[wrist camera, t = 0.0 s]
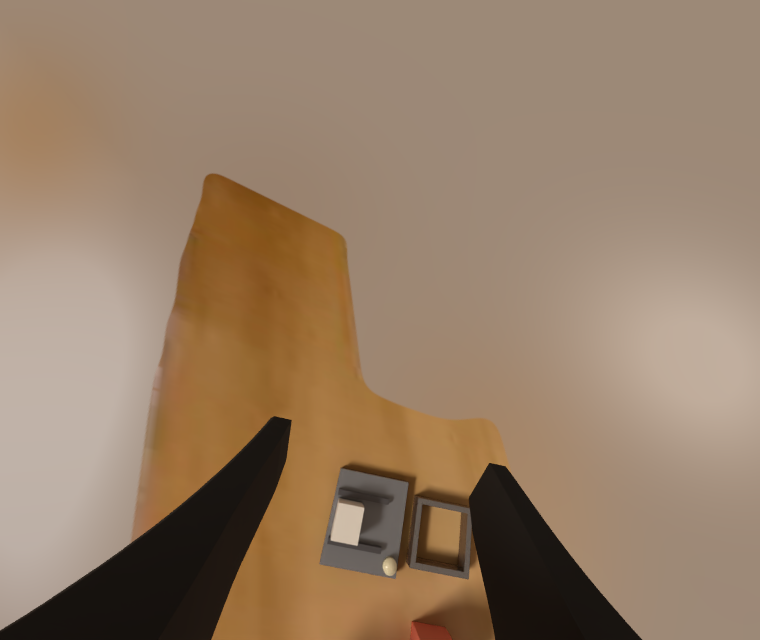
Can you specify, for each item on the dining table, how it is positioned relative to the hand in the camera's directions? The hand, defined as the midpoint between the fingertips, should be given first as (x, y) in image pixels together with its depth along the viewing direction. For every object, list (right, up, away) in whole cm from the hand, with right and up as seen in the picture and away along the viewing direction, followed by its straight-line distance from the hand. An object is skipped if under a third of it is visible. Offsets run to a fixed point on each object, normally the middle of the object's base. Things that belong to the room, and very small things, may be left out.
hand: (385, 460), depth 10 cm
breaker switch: (-4, -19, +25) cm, 32 cm away
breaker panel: (-2, -20, +27) cm, 33 cm away
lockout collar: (+7, -22, +27) cm, 36 cm away
